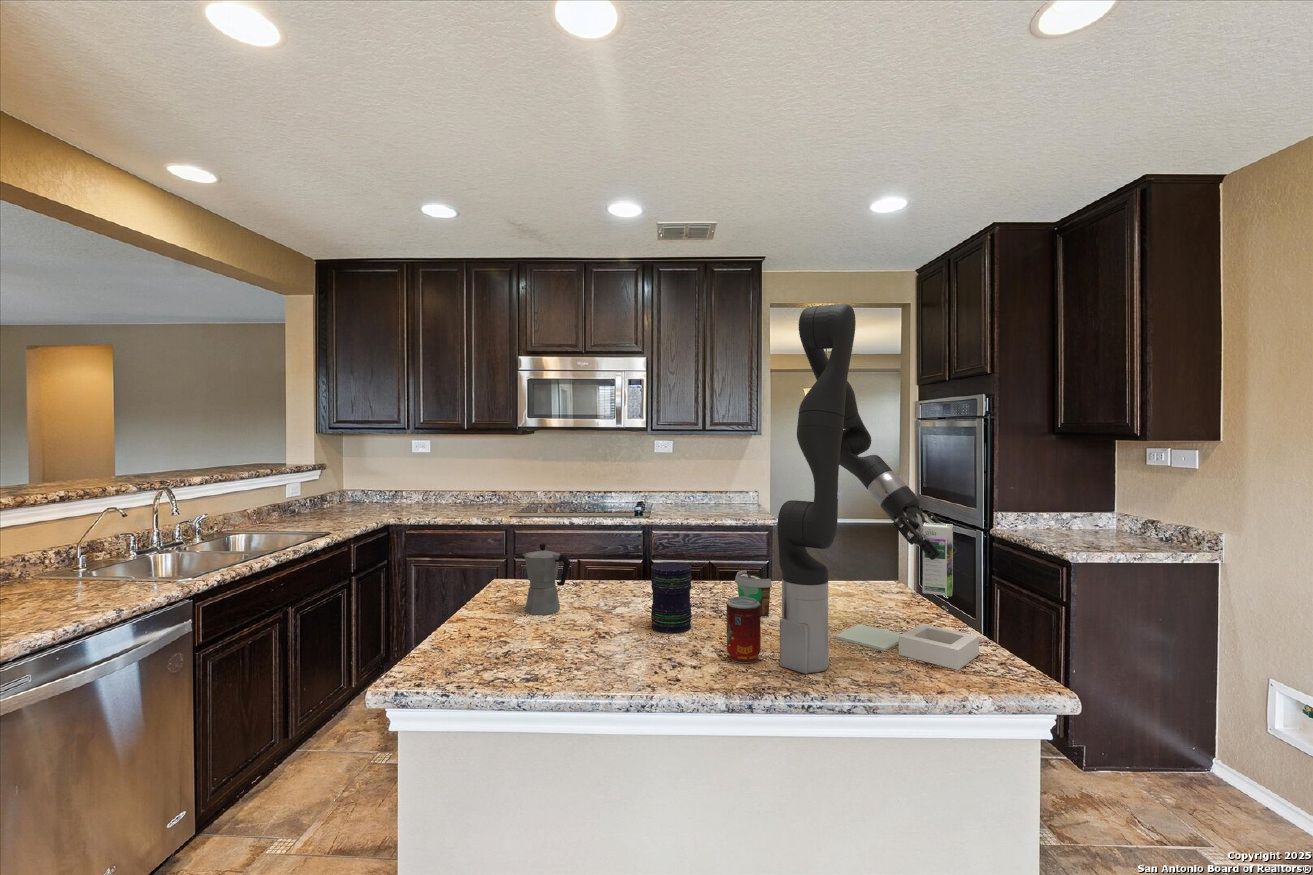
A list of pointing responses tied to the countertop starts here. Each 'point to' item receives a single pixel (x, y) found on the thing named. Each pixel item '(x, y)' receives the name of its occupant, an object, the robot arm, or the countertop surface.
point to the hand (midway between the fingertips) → (944, 555)
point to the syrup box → (938, 560)
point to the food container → (754, 589)
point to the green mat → (870, 637)
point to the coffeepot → (544, 580)
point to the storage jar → (671, 597)
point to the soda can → (743, 629)
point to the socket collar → (939, 646)
